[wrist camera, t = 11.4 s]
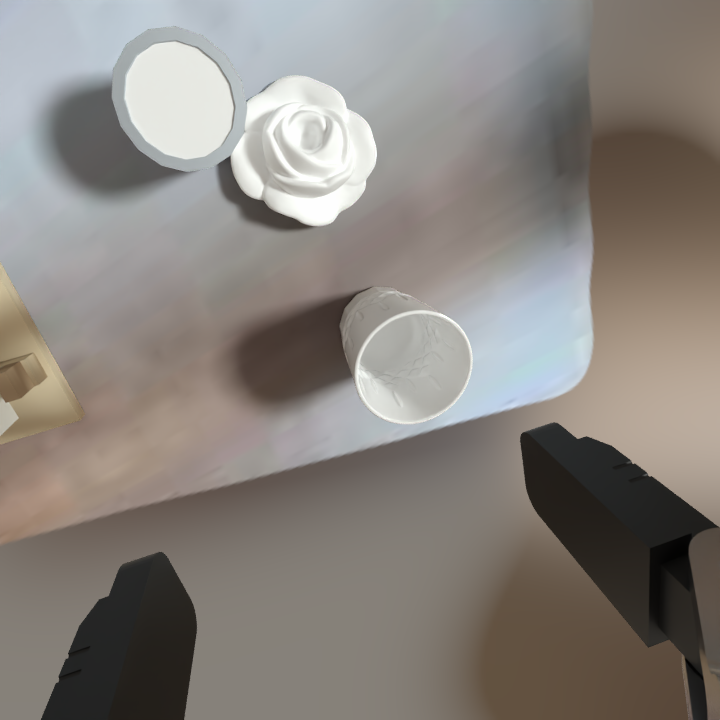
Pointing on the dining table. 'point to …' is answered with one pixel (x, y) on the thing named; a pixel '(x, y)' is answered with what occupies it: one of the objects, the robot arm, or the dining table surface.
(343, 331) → the white cup
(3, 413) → the white rectangular block
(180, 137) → the white short tapered cylinder
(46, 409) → the rack
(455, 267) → the dining table surface
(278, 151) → the rose
